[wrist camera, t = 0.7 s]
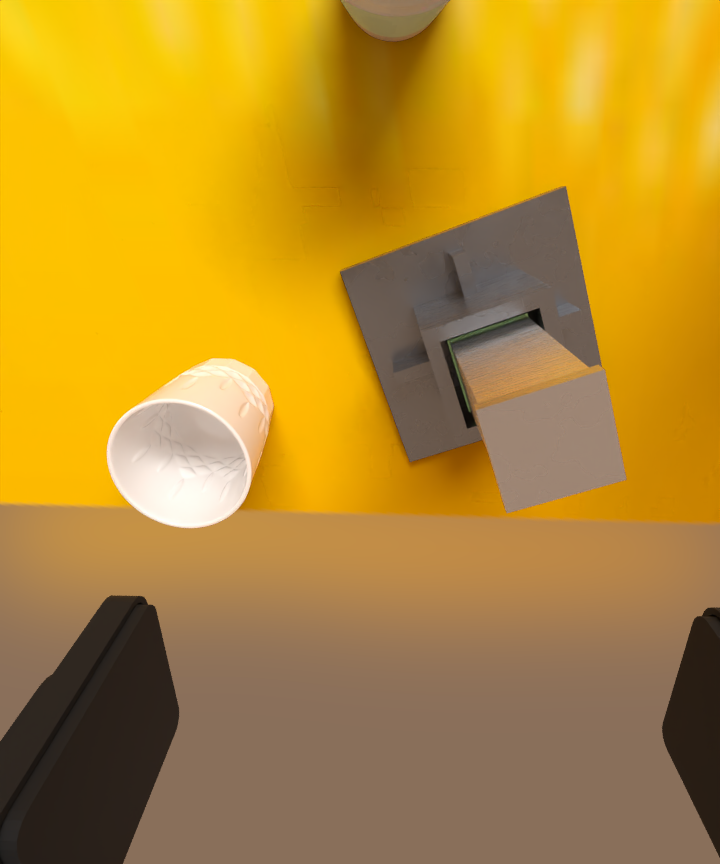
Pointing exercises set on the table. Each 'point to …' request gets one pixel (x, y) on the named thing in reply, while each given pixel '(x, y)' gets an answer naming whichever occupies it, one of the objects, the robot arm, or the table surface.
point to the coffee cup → (393, 16)
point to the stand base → (467, 308)
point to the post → (537, 412)
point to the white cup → (193, 444)
